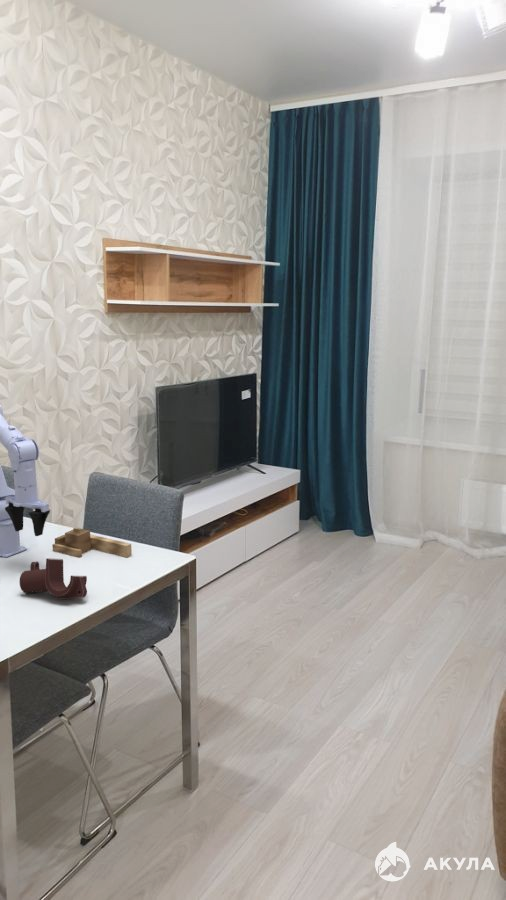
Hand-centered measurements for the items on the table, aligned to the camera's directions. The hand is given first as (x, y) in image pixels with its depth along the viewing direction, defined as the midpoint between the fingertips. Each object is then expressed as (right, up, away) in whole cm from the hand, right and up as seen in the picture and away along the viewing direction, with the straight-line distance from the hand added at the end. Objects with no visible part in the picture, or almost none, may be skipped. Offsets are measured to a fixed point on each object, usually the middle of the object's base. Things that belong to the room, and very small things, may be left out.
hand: (28, 532), depth 196 cm
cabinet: (+11, -7, +13) cm, 18 cm away
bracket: (+12, -14, -17) cm, 25 cm away
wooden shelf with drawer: (+15, -7, +11) cm, 20 cm away
